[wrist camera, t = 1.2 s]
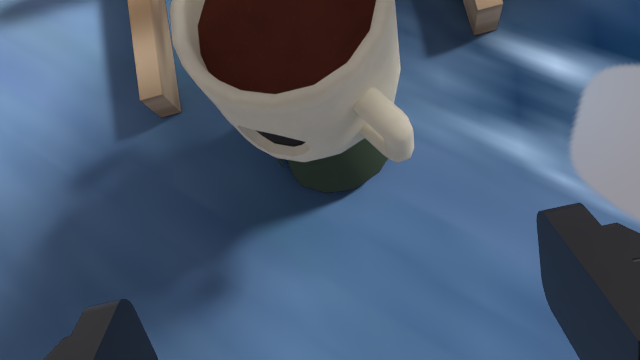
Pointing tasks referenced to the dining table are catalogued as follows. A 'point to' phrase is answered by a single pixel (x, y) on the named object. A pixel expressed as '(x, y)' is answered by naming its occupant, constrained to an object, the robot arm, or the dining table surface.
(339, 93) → the character mug
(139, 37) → the oak dock
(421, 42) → the dining table surface
